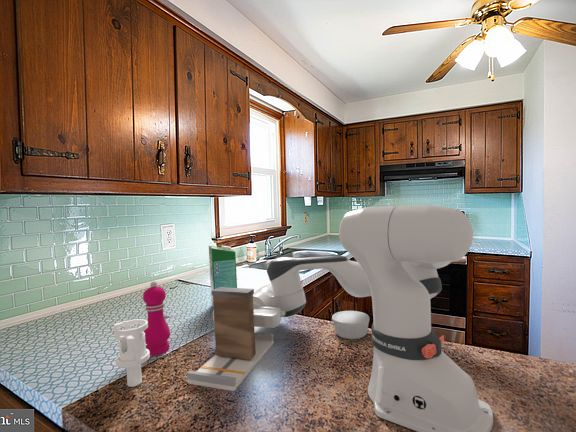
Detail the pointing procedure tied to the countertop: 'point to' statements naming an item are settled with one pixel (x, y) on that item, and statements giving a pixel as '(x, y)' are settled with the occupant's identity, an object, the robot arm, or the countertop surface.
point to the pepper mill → (156, 320)
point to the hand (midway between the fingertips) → (234, 326)
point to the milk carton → (222, 268)
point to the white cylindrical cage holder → (132, 349)
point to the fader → (234, 322)
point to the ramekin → (350, 324)
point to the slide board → (229, 367)
